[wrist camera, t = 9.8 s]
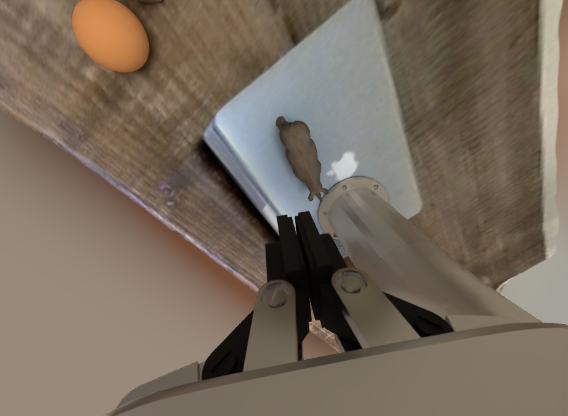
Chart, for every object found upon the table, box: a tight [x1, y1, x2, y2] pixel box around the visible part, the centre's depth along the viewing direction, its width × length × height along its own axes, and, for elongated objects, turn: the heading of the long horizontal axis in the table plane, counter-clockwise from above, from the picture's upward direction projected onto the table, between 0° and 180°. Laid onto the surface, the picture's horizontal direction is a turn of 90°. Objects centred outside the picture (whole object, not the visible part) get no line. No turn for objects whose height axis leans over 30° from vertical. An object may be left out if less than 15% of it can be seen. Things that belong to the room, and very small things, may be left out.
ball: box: [72, 0, 149, 73], centre depth 22 cm, size 6×6×6 cm
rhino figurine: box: [276, 116, 329, 202], centre depth 32 cm, size 4×14×6 cm, turn 23°
